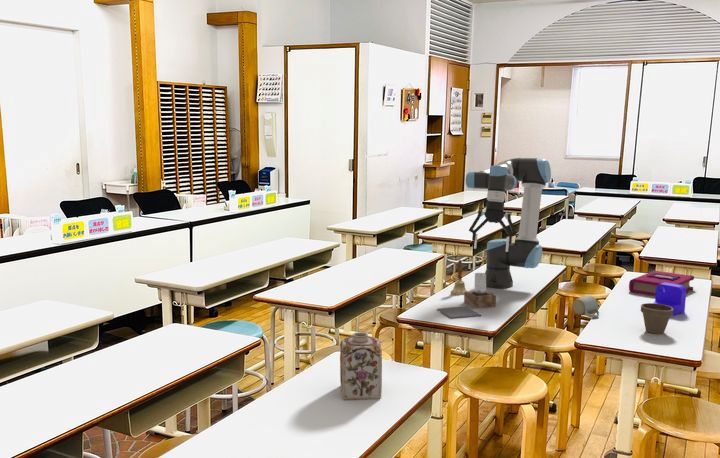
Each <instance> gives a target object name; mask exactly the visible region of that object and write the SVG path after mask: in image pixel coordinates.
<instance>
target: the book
mask: <svg viewBox="0 0 720 458" xmlns="http://www.w3.org/2000/svg"><path fill="white" fill-rule="evenodd" d="M694 280H695V276H694V275H689V274H680V273H674V272H668V271H667V272H666V271H659V270H652V271H650V272H647V273H645V274H642V275H640V276H637V277H635V278H631V279H630V281H629V283H628V290H629V292H630V293H633V294H639V295H645V296H650V297H655V296H656V287H657V285H659V284H662V283H671V284H677V285H682V286H684V287H685V288H686V294H687V293H689V292H690V291H693V290H694V287H693V286H690V282H691V281H694ZM663 289H664V291H665V288H664V287H663Z"/></svg>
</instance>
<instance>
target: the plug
mask: <svg viewBox="0 0 720 458" xmlns="http://www.w3.org/2000/svg"><path fill="white" fill-rule="evenodd" d="M473 291H474V295H476V296H481V295H486V291H487V286H486V274H485V272H475V273H474V290H473Z"/></svg>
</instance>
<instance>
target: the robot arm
mask: <svg viewBox="0 0 720 458" xmlns="http://www.w3.org/2000/svg"><path fill="white" fill-rule="evenodd" d="M551 169H552V168H551V165H550V163H549V161H548V160H547V159H546V158H539V157H538V158H537V157H534V158H533V157H531V158H529V157H523V158H522V157H515V158H510V159H507V160H504V161H503V160H502V161H500V162H498V163H497V164H496V165H491V166H490V167H489V168H485V169H483V170H480V171H469V172H467V174H466V175H465V179H464V180H465V186H466V187H467V188H469V189H473V190H474V189H479V190H480V189H482V190H487V194H486V200H487V201H486V203H485V204H486V205H485V212H484V211H482V210H478V212H477V216H476V217H475V219H474V221H473V223H472V224H471V226H470V227H469V229H468V231H469V232H470V233H472V238H471V240H472V241H473V242H474V243H473V245H474V246H473V249H474V250H476V249H477V244H478V233H477V232H478V231H480V230H481V228H482V227H484V226H485V224H487V223H494V224H498V223H499V224H500V226H501V227H502V228H503V230H504V231H505V233H506V234H507V235H508V236H506V238H497V239H492V240H489V241H487V244H486V250H485V251H486V264H485V265H486V266H485V268H486V269H485V272H484V273H485V274H486V288H487V287H488V288H492V289H493V288H494V289H495V288H496V289H506V288H507V289H508V288H511V287H513V286H514V281H513V277H512V274H511V267H515V268H516V267H517V268H523V269H524V268H525V269H535V268H537V267H539V264H540V262H541V260H542V258H543V257H542V256H543V247H542V245H541V244H540V241H539V240H538V238H537V235H538V228H539V227H538V225H539V219H540V209H541V201H542V191H543V190H544V189H545V188H546V187H547V183H550V182H551V178H552V170H551ZM518 182H521V184H520V185H521V186H522V187H523V195H522V204H521V211H520V222H519V229H518V234H517V232H516V228H515V226H514V224H513V221H512V218H511V216H512V215H511V213H504V211H505V210H504V209H505V198H506V197H505V196H506V192H509V191H510V192H511V191H513V190H514V189H515V188H516V187H517V183H518ZM483 216H484V217H485V219H484V220H483V221H482V222H481V223H480V224H479V225H478V226H477V227H476V225H477V223H478V222H479V220H480V219H481V218H482V217H483ZM504 218H505V219H506V220H507V223H508V225H509V228H510V230H509V228H508V226H507V225H506V224H505V223H504V220H503V219H504ZM517 235H518V236H517ZM515 236H517V237H516V238H514V242H512V240H513V237H515Z"/></svg>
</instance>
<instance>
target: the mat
mask: <svg viewBox="0 0 720 458" xmlns="http://www.w3.org/2000/svg"><path fill="white" fill-rule="evenodd" d="M436 311H438V312H439V311H440V313H441V314H442V313H443V314H442V315H444V316H445V317H447V318H449V319H460V318H472V317H473V318H474V317H481V316H482V314H481V313H479V312H478V311H476V310H474V309H472V308H470V307H468V306H466V305H464V306H454V307H453V306H452V307H451V306H450V307H442V308H439V307H438V308H436Z"/></svg>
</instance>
